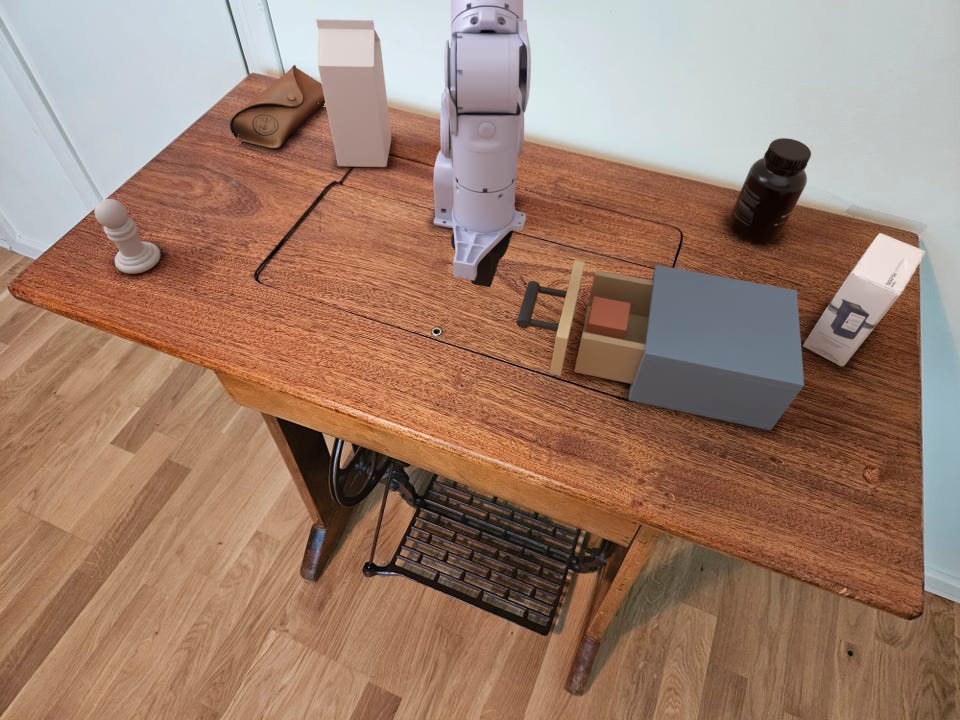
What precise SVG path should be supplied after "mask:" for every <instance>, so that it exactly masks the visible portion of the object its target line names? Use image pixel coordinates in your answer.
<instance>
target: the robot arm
mask: <svg viewBox="0 0 960 720" xmlns="http://www.w3.org/2000/svg"><path fill="white" fill-rule="evenodd" d="M450 1H451V2H450V41H449V39H446V41H445V46H444V68H443V69H444V89H443V92H442V93H441V97H440V115H439V133H440V135H439V137H440V150H439V151H438V154H437V155H436V158H435V161H434V162H435V163H434V167H433V183H432V187H433V201H434V204H433V205H434V219H433V224H434V226H437V227H444V228H449V229H452V233H451V236H450V243H451V244H450V245H451V248H452V249H453V250H454V251H455V254H454V258H453V261H452V267H453V269H452V270H453V277H454V278H459V279H463V280H470V282H471V284H472V285H476V286H480V287H485V288H491V286H492V284H493V282H494V279H495V275H496V273H497V269H498V267H499V262H500V261H501V259H502V258H503V257H504V256H505V254H506V253H507V251H508V249H509V246H510V242H511V238H512V237H513V234H514V232H521V231H523V230H524V228H525V226H526V221H527V214H526V213H525V212H523V211H518V210H516V206H515V203H516V189H517V174H518V162H519V161H518V160H519V158H520V157H521V156H522V155H523V151H524V142H525V141H524V140H525V113H526V111H527V106H528V103H529V99H530V91H531V77H532V75H531V74H532V52H531V45H530V39H529V32H528V23H527V22H528V21H527V19H524V0H450Z"/></svg>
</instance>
